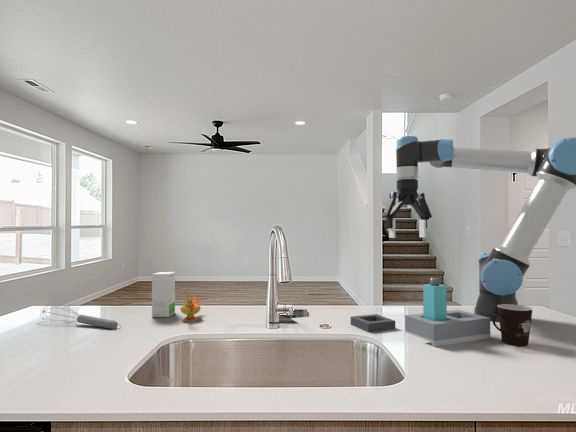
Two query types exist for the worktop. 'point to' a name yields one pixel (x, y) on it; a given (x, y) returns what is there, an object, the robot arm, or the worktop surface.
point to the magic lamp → (190, 307)
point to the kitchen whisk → (88, 320)
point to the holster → (372, 323)
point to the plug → (434, 301)
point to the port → (449, 328)
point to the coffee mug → (514, 324)
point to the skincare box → (163, 294)
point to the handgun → (296, 314)
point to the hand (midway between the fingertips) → (407, 237)
